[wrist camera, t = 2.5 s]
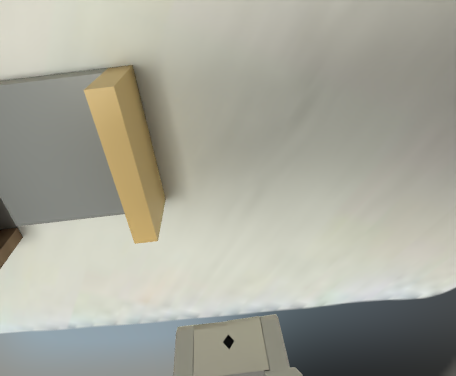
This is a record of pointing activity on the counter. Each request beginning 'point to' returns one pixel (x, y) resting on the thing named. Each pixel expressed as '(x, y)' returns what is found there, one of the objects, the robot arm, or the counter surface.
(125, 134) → the grey board with lip
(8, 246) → the overhang shelf
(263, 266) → the counter surface
